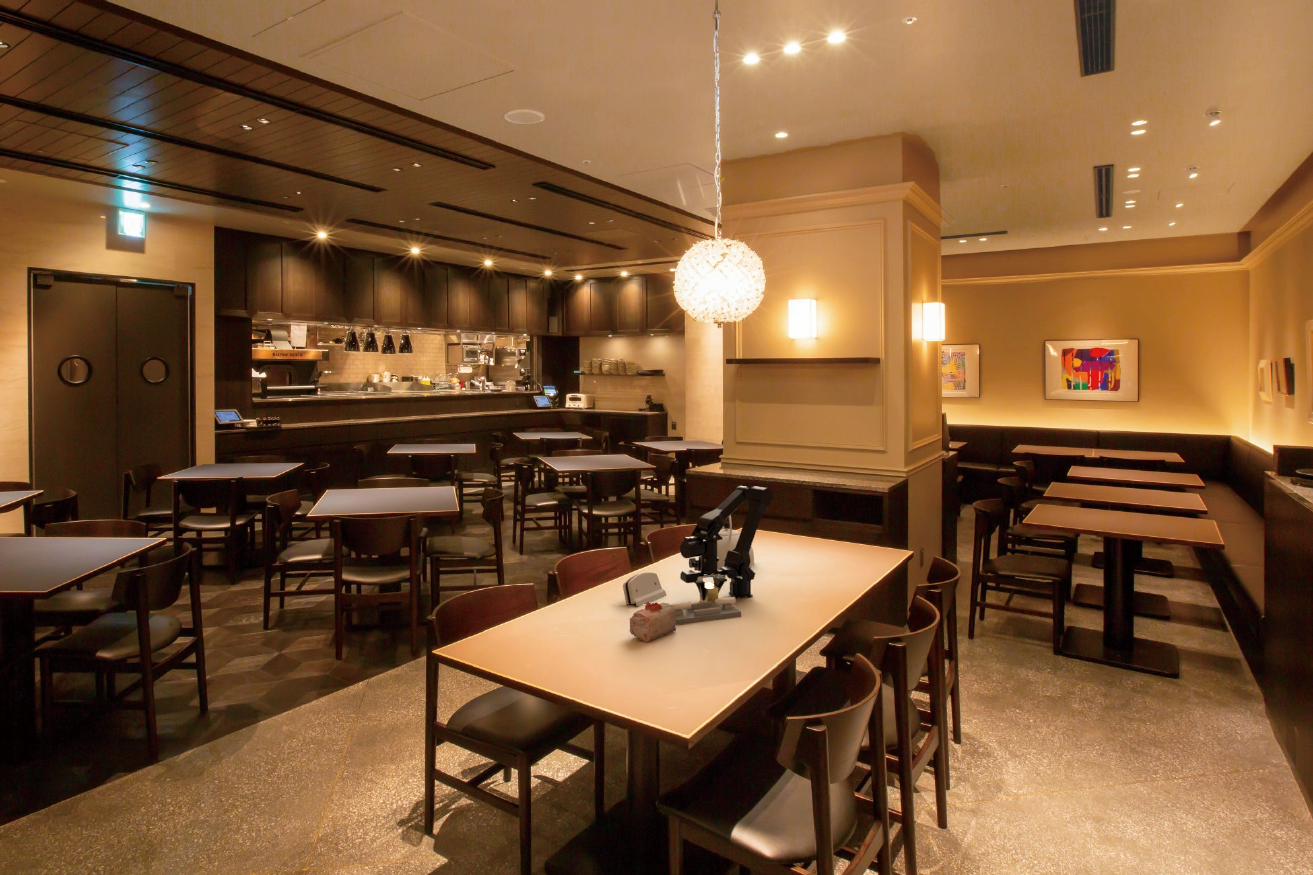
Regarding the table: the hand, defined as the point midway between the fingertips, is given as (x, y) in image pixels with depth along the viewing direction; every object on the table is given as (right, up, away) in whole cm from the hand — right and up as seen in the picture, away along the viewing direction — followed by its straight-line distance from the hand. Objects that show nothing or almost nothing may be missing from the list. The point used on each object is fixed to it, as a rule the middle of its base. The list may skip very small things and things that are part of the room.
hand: (708, 599), depth 237 cm
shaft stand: (-3, -2, -13) cm, 13 cm away
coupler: (0, -1, 0) cm, 1 cm away
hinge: (-22, -1, +5) cm, 23 cm away
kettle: (+11, +3, +55) cm, 56 cm away
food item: (-19, -4, -30) cm, 36 cm away
